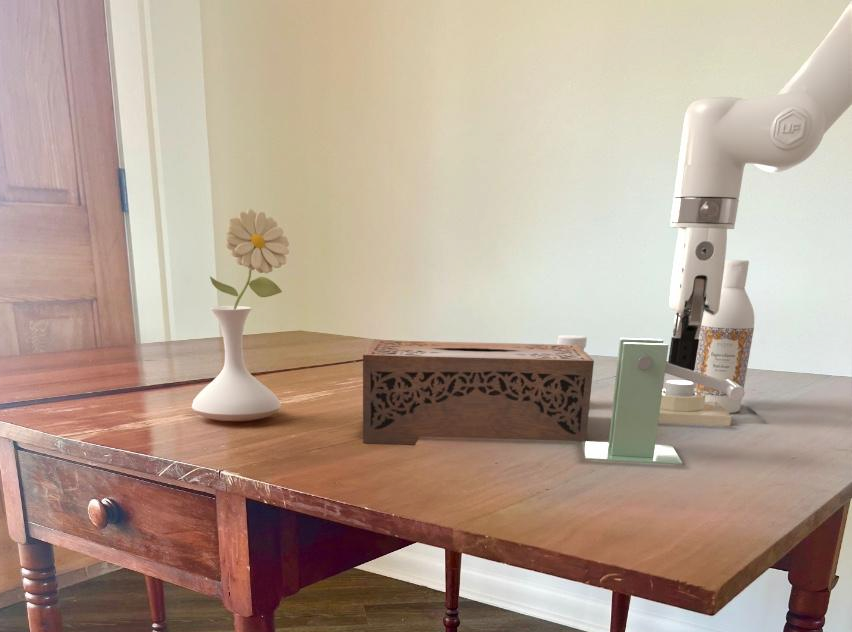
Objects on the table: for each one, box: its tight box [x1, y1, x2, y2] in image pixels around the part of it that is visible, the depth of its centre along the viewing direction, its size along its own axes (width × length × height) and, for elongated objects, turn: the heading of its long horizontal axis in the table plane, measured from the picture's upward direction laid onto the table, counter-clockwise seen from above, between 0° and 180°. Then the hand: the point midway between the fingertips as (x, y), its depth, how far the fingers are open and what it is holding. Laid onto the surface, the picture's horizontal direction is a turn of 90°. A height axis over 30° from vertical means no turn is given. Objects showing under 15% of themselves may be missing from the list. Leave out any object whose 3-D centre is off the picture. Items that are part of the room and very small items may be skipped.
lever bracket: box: [581, 337, 684, 466], centre depth 92 cm, size 10×8×13 cm
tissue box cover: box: [362, 339, 595, 446], centre depth 105 cm, size 26×14×10 cm, turn 86°
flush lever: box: [665, 361, 746, 401], centre depth 90 cm, size 12×5×2 cm, turn 82°
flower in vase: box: [191, 208, 290, 422], centre depth 108 cm, size 13×11×25 cm
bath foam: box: [694, 259, 755, 415], centre depth 120 cm, size 7×7×20 cm
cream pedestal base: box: [658, 388, 733, 427], centre depth 114 cm, size 12×10×4 cm
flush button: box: [664, 379, 695, 396], centre depth 113 cm, size 4×4×2 cm
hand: (680, 370), depth 112 cm, fingers closed
